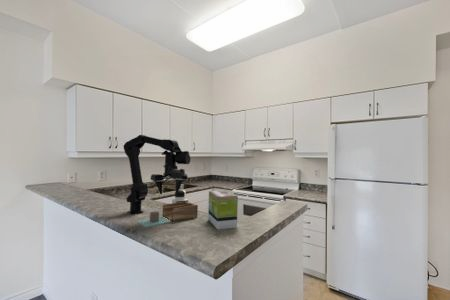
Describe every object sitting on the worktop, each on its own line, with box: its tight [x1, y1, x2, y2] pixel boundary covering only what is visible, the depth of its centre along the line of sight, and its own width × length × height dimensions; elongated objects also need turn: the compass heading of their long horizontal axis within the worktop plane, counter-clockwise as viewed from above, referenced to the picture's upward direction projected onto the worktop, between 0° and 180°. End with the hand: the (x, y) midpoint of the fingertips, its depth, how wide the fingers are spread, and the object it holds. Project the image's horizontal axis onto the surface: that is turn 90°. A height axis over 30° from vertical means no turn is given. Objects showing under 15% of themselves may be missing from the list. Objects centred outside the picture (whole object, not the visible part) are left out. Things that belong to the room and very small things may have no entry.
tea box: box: [207, 190, 239, 230], centre depth 98 cm, size 15×10×15 cm, turn 21°
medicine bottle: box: [171, 189, 189, 204], centre depth 117 cm, size 7×7×12 cm
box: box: [161, 201, 199, 223], centre depth 106 cm, size 11×14×6 cm
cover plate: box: [137, 211, 171, 229], centre depth 96 cm, size 9×12×5 cm
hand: (169, 193), depth 107 cm, fingers open, 9 cm apart
